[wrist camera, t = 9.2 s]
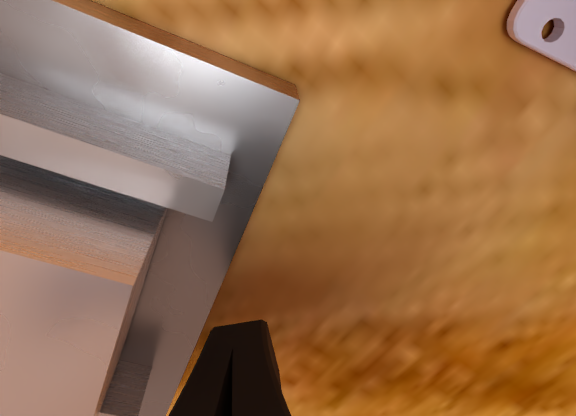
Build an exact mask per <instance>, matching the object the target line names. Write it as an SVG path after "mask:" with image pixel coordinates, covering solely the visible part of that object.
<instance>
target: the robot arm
mask: <svg viewBox="0 0 576 416" xmlns="http://www.w3.org/2000/svg"><path fill="white" fill-rule="evenodd" d="M551 19H552V20H553V21H554V29H553V31H552V33H551V34H550V35H549V36H548V37H547V38H545V39H542V33H541V32H542V29H543V27H544V25H545V24H546V23H547V22H548V21H549V20H551ZM507 31H508V34H509V36H510V37H511V38H512V39H513V40H514V41H516V42H518V43H520V44H522V45H524V46H526V47H528V48H530V49H532V50H534V51H536V52H538V53H540V54H542V55H544V56H546V57H548V58H550V59H552V60H554V61H556V62H558V63H560V64H562V65H564V66H566V67H568V68H570V69H572V70H574V71H576V0H517V2H516V3H515V5H514V7H513V8H512V10H511V12H510V14H509V17H508V19H507ZM169 416H291V414H290V412H289V409H288V407H287V404H286V402H285V399H284V397H283V394H282V390H281V383H280V374H279V369H278V365H277V361H276V357H275V353H274V349H273V345H272V341H271V337H270V333H269V329H268V325H267V322H265V321H263V320H256V321H250V322H244V323H238V324H231V325H225V326H219V327H214V328H213V329H212V330H211V332H210V334H209V336H208V338H207V341H206V343H205V345H204V347H203V350H202V352H201V354H200V356H199V358H198V360H197V362H196V364H195V366H194V368H193V370H192V373H191V375H190V377H189V379H188V380H187V382H186V384H185V386H184V388H183V390H182V392H181V394H180V396H179V398H178V399H177V401H176V403H175V405H174V407H173V409H172V410H171V412H170V414H169Z"/></svg>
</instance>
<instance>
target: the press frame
mask: <svg viewBox="0 0 576 416" xmlns="http://www.w3.org/2000/svg"><path fill="white" fill-rule="evenodd" d="M299 101H300V99H299V96H298V93H297V89H296V86H295V85H294V84H292V83H289V82H287V81H284V80H282V79H280V78H277V77H275V76H272V75H270V74H267V73H265V72H263V71H260V70H258V69H255V68H253V67H250V66H248V65H246V64H243V63H241V62H238V61H236V60H233V59H231V58H229V57H226V56H224V55H221V54H219V53H216V52H214V51H212V50H209V49H207V48H204V47H202V46H199V45H197V44H195V43H192V42H190V41H187V40H185V39H183V38H180V37H178V36H175V35H173V34H170V33H168V32H166V31H163V30H161V29H158V28H156V27H153V26H151V25H149V24H146V23H144V22H141V21H139V20H136V19H134V18H132V17H129V16H127V15H124V14H122V13H119V12H117V11H115V10H112V9H110V8H107V7H105V6H102V5H100V4H98V3H95V2H93V1H90V0H0V155H2V156H5V157H8V158H11V159H14V160H18V161H21V162H24V163H27V164H30V165H33V166H37V167H40V168H43V169H46V170H49V171H52V172H56V173H59V174H62V175H65V176H68V177H71V178H75V179H78V180H81V181H84V182H87V183H90V184H94V185H97V186H100V187H103V188H106V189H109V190H113V191H116V192H119V193H122V194H125V195H128V196H132V197H135V198H138V199H141V200H144V201H147V202H151V203H154V204H157V205H160V206H163V207H166V208H167V211H166V214H165V217H164V220H163V224H162V227H161V230H160V233H159V236H158V239H157V242H156V246H155V249H154V252H153V255H152V258H151V261H150V265H149V268H148V271H147V274H146V277H145V280H144V283H143V287H142V290H141V293H140V296H139V299H138V302H137V306H136V309H135V312H134V315H133V318H132V321H131V324H130V328H129V331H128V334H127V337H126V340H125V343H124V347H123V350H122V353H121V356H120V359H119V362H118V364H117V367H116V370H115V372H114V375H113V378H112V380H111V383H110V386H109V388H108V391H107V394H106V397H105V399H104V402H103V405H102V407H101V410H100V413H99V415H98V416H166V413H167V411H168V409H169V406H170V404H171V402H172V399H173V397H174V395H175V392H176V390H177V388H178V385H179V383H180V381H181V378H182V376H183V374H184V371H185V369H186V366H187V364H188V362H189V359H190V357H191V355H192V352H193V350H194V348H195V345H196V343H197V341H198V338H199V336H200V334H201V331H202V329H203V327H204V324H205V322H206V319H207V317H208V315H209V312H210V310H211V308H212V305H213V303H214V301H215V298H216V296H217V294H218V291H219V289H220V287H221V284H222V282H223V280H224V277H225V275H226V273H227V270H228V268H229V265H230V263H231V261H232V258H233V256H234V254H235V251H236V249H237V247H238V244H239V242H240V240H241V237H242V235H243V233H244V230H245V228H246V226H247V223H248V221H249V218H250V216H251V214H252V211H253V209H254V207H255V204H256V202H257V200H258V197H259V195H260V193H261V190H262V188H263V186H264V183H265V181H266V179H267V176H268V174H269V171H270V169H271V167H272V164H273V162H274V160H275V157H276V155H277V153H278V150H279V148H280V146H281V143H282V141H283V139H284V136H285V134H286V132H287V129H288V127H289V125H290V122H291V120H292V117H293V115H294V113H295V110H296V108H297V106H298V103H299Z"/></svg>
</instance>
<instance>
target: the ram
mask: <svg viewBox="0 0 576 416" xmlns="http://www.w3.org/2000/svg"><path fill="white" fill-rule="evenodd" d="M166 211H167V208H166V207H163V206H160V205H157V204H154V203H151V202H147V201H144V200H141V199H138V198H135V197H132V196H128V195H125V194H122V193H119V192H116V191H113V190H109V189H106V188H103V187H100V186H97V185H94V184H90V183H87V182H84V181H81V180H78V179H75V178H71V177H68V176H65V175H62V174H59V173H56V172H52V171H49V170H46V169H43V168H40V167H37V166H33V165H30V164H27V163H24V162H21V161H18V160H14V159H11V158H8V157H5V156H2V155H0V416H98V415H99V413H100V410H101V407H102V405H103V402H104V399H105V397H106V394H107V391H108V388H109V386H110V383H111V380H112V378H113V375H114V372H115V370H116V367H117V364H118V362H119V359H120V356H121V353H122V350H123V347H124V343H125V340H126V337H127V334H128V331H129V328H130V324H131V321H132V318H133V315H134V312H135V309H136V306H137V302H138V299H139V296H140V293H141V290H142V287H143V283H144V280H145V277H146V274H147V271H148V268H149V265H150V261H151V258H152V255H153V252H154V249H155V246H156V242H157V239H158V236H159V233H160V230H161V227H162V224H163V220H164V217H165V214H166Z"/></svg>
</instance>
